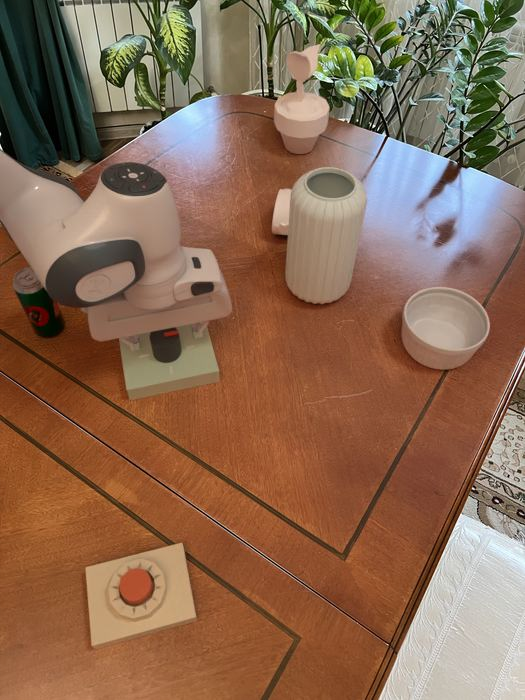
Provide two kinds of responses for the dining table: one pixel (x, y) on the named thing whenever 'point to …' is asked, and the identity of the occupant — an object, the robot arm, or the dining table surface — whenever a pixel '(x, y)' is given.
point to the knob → (166, 345)
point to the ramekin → (443, 327)
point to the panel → (169, 366)
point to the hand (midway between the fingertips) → (166, 341)
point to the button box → (150, 616)
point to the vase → (324, 234)
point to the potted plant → (301, 105)
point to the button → (136, 586)
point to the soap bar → (281, 212)
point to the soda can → (38, 304)
